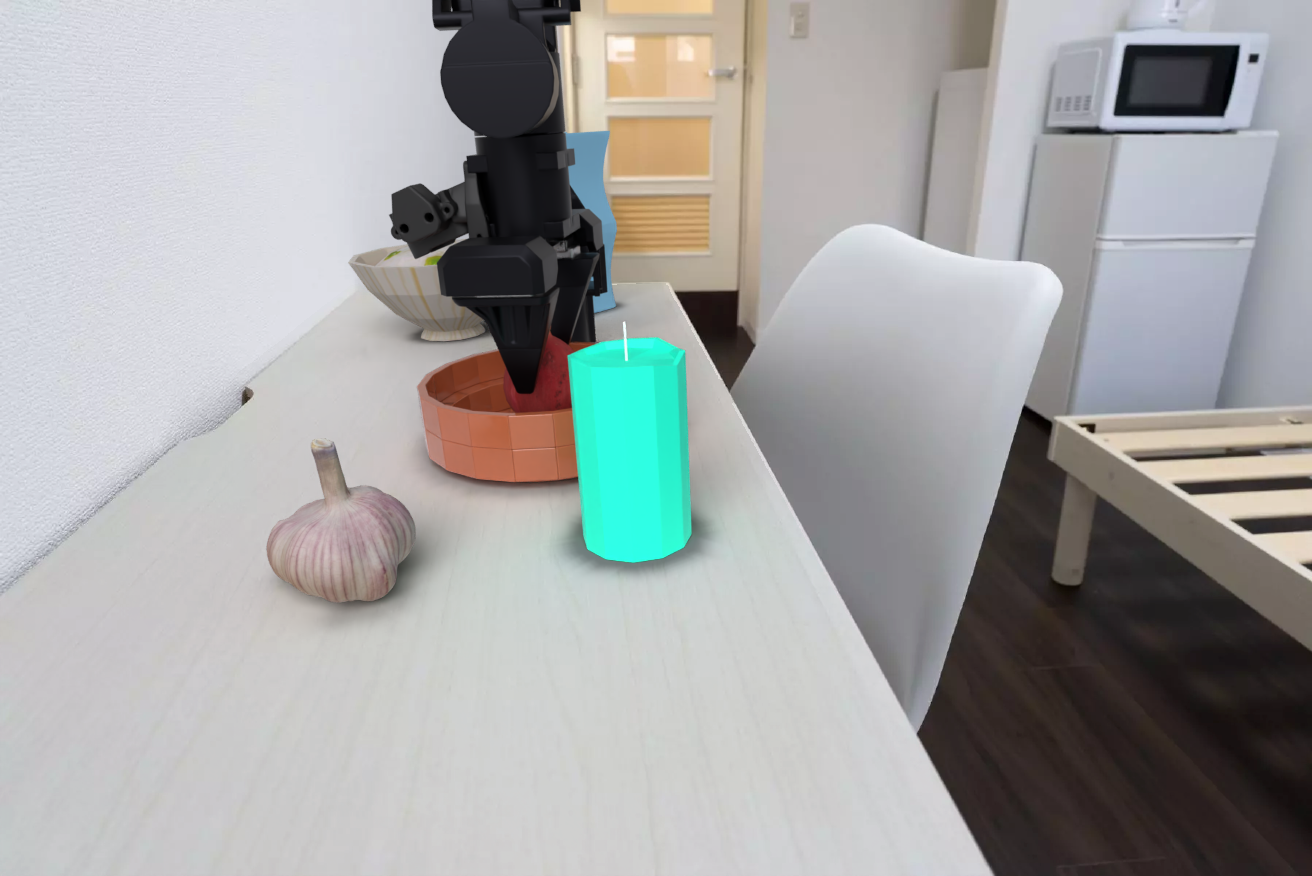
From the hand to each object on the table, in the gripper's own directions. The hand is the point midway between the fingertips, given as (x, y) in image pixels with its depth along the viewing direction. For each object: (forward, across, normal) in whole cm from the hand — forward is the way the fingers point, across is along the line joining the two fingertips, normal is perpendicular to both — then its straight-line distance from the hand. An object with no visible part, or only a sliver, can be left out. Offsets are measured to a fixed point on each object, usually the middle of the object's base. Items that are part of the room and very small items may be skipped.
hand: (543, 372), depth 58 cm
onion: (+5, 0, 0) cm, 5 cm away
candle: (+5, +14, +8) cm, 17 cm away
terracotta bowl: (+5, 0, 0) cm, 5 cm away
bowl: (+5, -32, -19) cm, 38 cm away
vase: (+5, -43, -8) cm, 44 cm away
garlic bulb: (+5, +20, -6) cm, 21 cm away
